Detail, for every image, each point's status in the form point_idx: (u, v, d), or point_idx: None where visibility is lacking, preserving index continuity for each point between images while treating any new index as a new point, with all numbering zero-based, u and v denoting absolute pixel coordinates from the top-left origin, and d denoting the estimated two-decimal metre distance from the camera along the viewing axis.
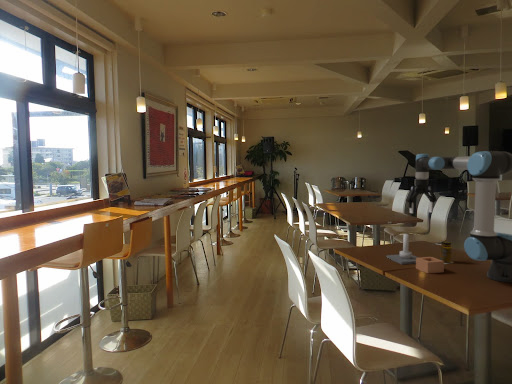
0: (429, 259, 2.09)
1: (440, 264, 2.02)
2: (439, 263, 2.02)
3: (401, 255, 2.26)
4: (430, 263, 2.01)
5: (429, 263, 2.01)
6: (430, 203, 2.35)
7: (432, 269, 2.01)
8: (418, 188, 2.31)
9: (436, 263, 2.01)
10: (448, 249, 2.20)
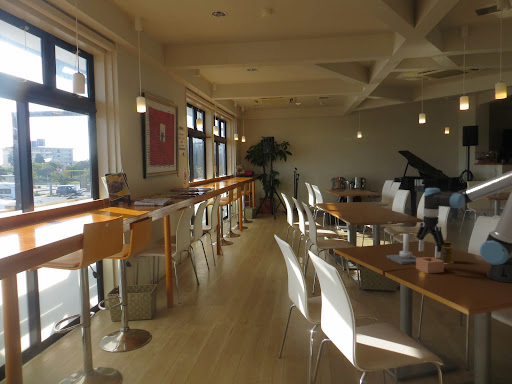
0: (429, 259, 2.09)
1: (440, 264, 2.02)
2: (439, 263, 2.02)
3: (401, 255, 2.26)
4: (430, 263, 2.01)
5: (429, 263, 2.01)
6: None
7: (432, 269, 2.01)
8: (425, 225, 2.08)
9: (436, 263, 2.01)
10: (448, 249, 2.20)
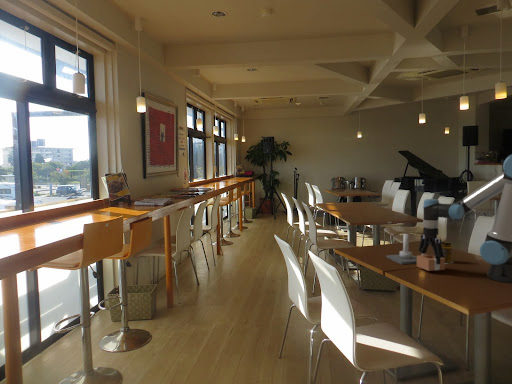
0: (430, 257, 2.09)
1: (441, 261, 2.02)
2: (440, 260, 2.02)
3: (401, 255, 2.26)
4: (431, 260, 2.00)
5: (430, 260, 2.00)
6: None
7: (433, 267, 2.01)
8: (425, 237, 2.08)
9: None
10: (448, 249, 2.20)
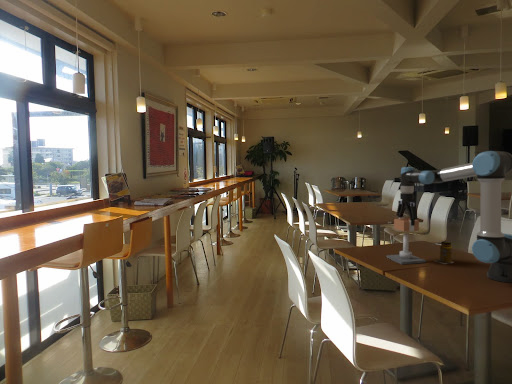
0: (406, 220, 2.29)
1: (415, 223, 2.22)
2: None
3: (401, 255, 2.26)
4: (406, 222, 2.21)
5: (405, 222, 2.21)
6: None
7: (408, 228, 2.21)
8: (402, 202, 2.28)
9: None
10: (448, 249, 2.20)
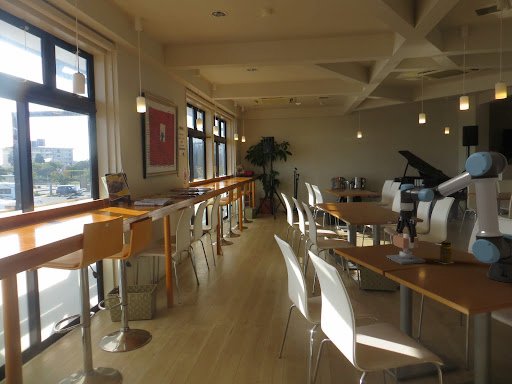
0: None
1: (415, 240, 2.23)
2: (414, 239, 2.23)
3: (401, 255, 2.26)
4: (405, 239, 2.21)
5: (405, 239, 2.21)
6: None
7: (408, 245, 2.22)
8: (401, 218, 2.29)
9: None
10: (448, 249, 2.20)
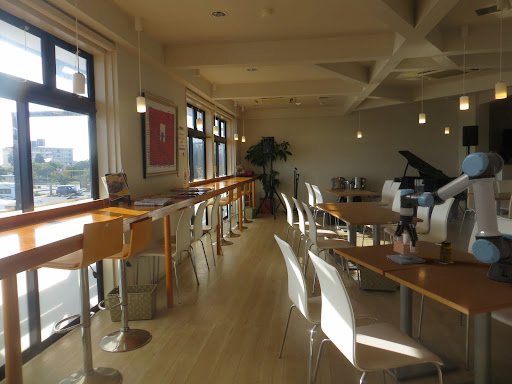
0: None
1: (415, 246, 2.23)
2: None
3: (401, 255, 2.26)
4: (406, 245, 2.22)
5: (405, 245, 2.22)
6: None
7: (408, 251, 2.22)
8: (401, 223, 2.29)
9: None
10: (448, 249, 2.20)
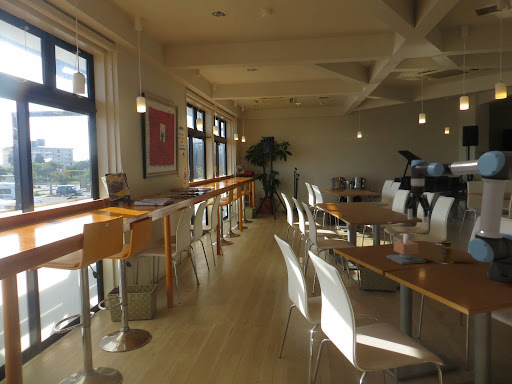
0: None
1: (415, 246, 2.23)
2: (414, 245, 2.23)
3: (401, 255, 2.26)
4: (406, 245, 2.22)
5: (405, 245, 2.22)
6: None
7: (408, 251, 2.22)
8: (412, 195, 2.28)
9: (411, 245, 2.22)
10: (448, 249, 2.20)
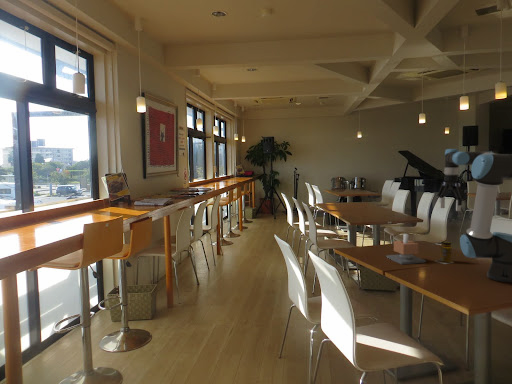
0: None
1: (415, 246, 2.23)
2: (414, 245, 2.23)
3: (401, 255, 2.26)
4: (406, 245, 2.22)
5: (405, 245, 2.22)
6: None
7: (408, 251, 2.22)
8: (445, 184, 2.29)
9: (411, 245, 2.22)
10: (448, 249, 2.20)
